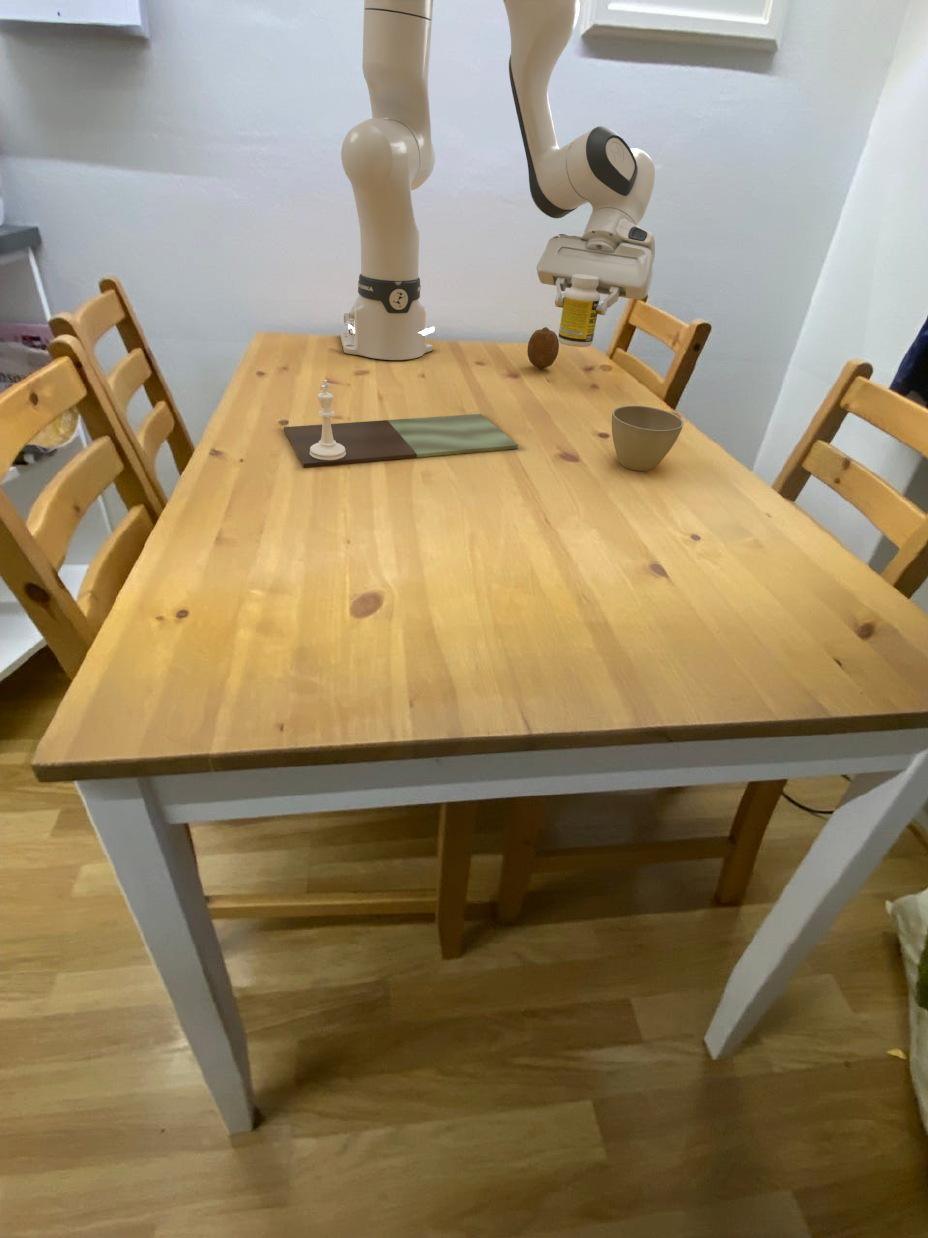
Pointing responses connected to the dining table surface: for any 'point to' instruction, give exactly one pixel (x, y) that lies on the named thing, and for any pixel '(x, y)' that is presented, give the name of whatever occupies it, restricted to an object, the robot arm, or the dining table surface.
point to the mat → (402, 439)
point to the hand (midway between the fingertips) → (579, 308)
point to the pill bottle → (579, 311)
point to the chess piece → (326, 430)
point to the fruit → (543, 348)
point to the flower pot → (643, 435)
